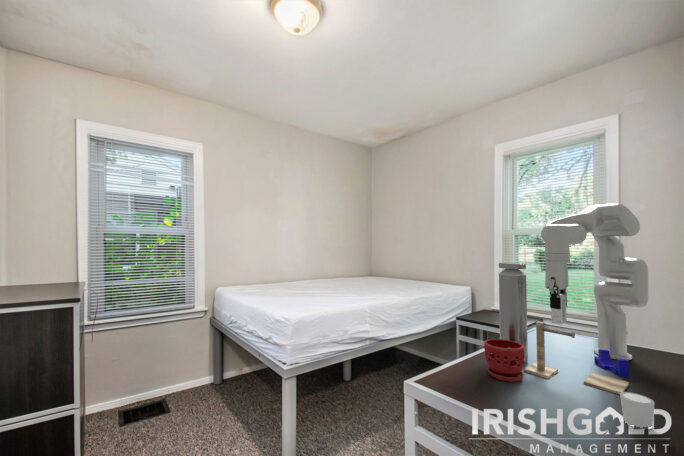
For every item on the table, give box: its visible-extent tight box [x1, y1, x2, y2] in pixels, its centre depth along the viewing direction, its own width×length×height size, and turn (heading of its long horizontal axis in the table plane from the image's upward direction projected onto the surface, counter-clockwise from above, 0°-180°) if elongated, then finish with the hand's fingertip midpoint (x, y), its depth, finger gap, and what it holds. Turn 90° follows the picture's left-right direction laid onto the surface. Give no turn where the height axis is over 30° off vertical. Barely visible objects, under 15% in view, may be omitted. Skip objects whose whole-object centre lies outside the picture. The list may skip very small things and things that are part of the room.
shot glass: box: [619, 391, 655, 428], centre depth 84 cm, size 7×7×7 cm
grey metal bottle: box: [498, 261, 529, 367], centre depth 129 cm, size 10×10×40 cm
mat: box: [583, 372, 630, 395], centre depth 108 cm, size 12×10×1 cm
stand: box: [523, 320, 576, 380], centre depth 116 cm, size 10×15×18 cm
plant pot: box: [483, 338, 525, 382], centre depth 114 cm, size 13×13×12 cm
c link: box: [550, 294, 568, 325], centre depth 115 cm, size 6×3×10 cm, turn 129°
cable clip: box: [594, 349, 630, 378], centre depth 121 cm, size 12×4×6 cm, turn 170°
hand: (558, 306), depth 115 cm, fingers closed on c link, 6 cm apart
